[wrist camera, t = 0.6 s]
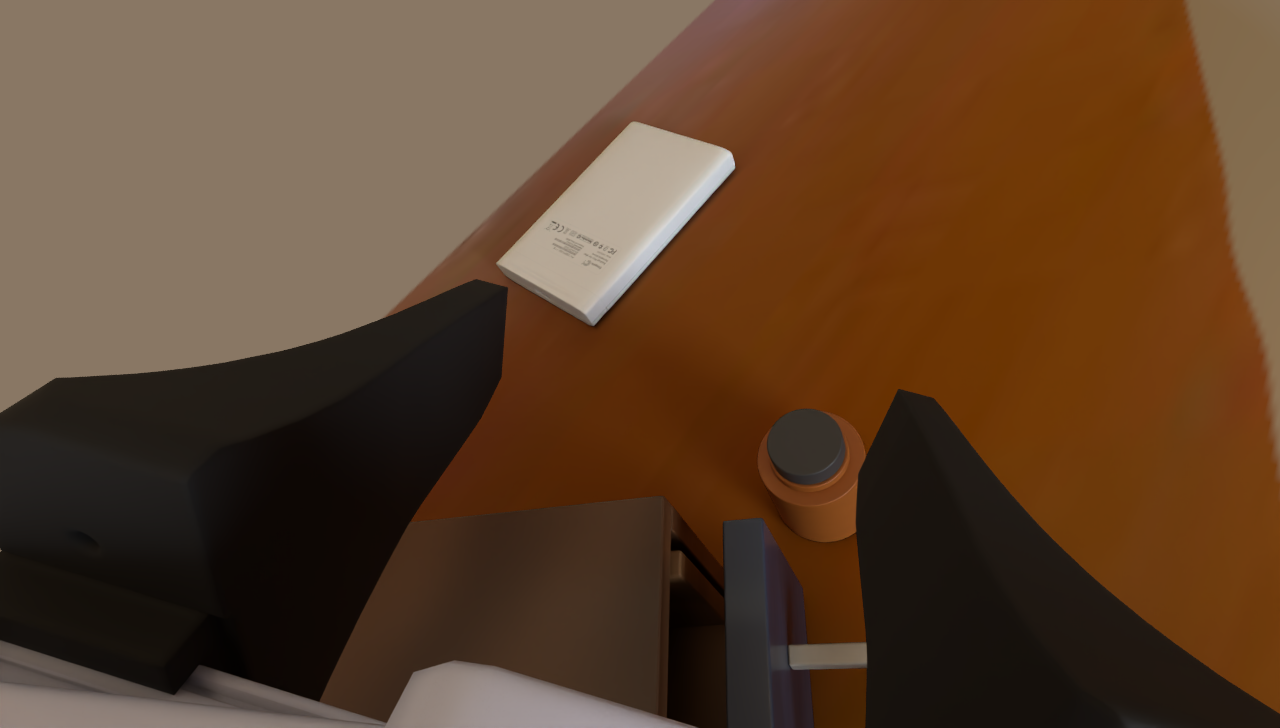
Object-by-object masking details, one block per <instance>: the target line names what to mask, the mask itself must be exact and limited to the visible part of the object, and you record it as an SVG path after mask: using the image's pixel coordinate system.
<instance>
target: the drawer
mask: <svg viewBox="0 0 1280 728" xmlns="http://www.w3.org/2000/svg"><path fill="white" fill-rule="evenodd" d="M723 562H724V598H723V597H722V596H721V595H720V594H719V592H718V591H717V590H716V589H715V588H714V587H713V586H712V585H711V584H710V582H709V581H708V580H707V579H706V578H705V577H704V576H703V575H702V573H701V572H700V571H699V570H698V569H697V568H696V567H695V566H694V565H693V563H692V562H691V561H690V560H689V559H688V558H687V557H686V556H685V555H684V553H683V552H682V551H680V550H679V551H671V554H670V597H669V640H668V683H667V718H668V719H672V720H675V721H678V722H681V723H685V724H688V725H691V726H695V727H698V728H814V721H813V709H812V697H811V684H810V672H809V669H846V668H867V645H866V642H854V643H826V644H807V635H806V623H805V611H804V598H803V588H802V586H801V585H800V583H799V581H798V579H797V578H796V576H795V574H794V572H793V571H792V569H791V567H790V566H789V564H788V562H787V560H786V559H785V557H784V555H783V553H782V552H781V550H780V548H779V546H778V545H777V543H776V541H775V539H774V538H773V536H772V534H771V533H770V531H769V529H768V527H767V526H766V524H765V522H764V520H763V519H762V518H754V519H743V520H732V521H724V522H723Z"/></svg>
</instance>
